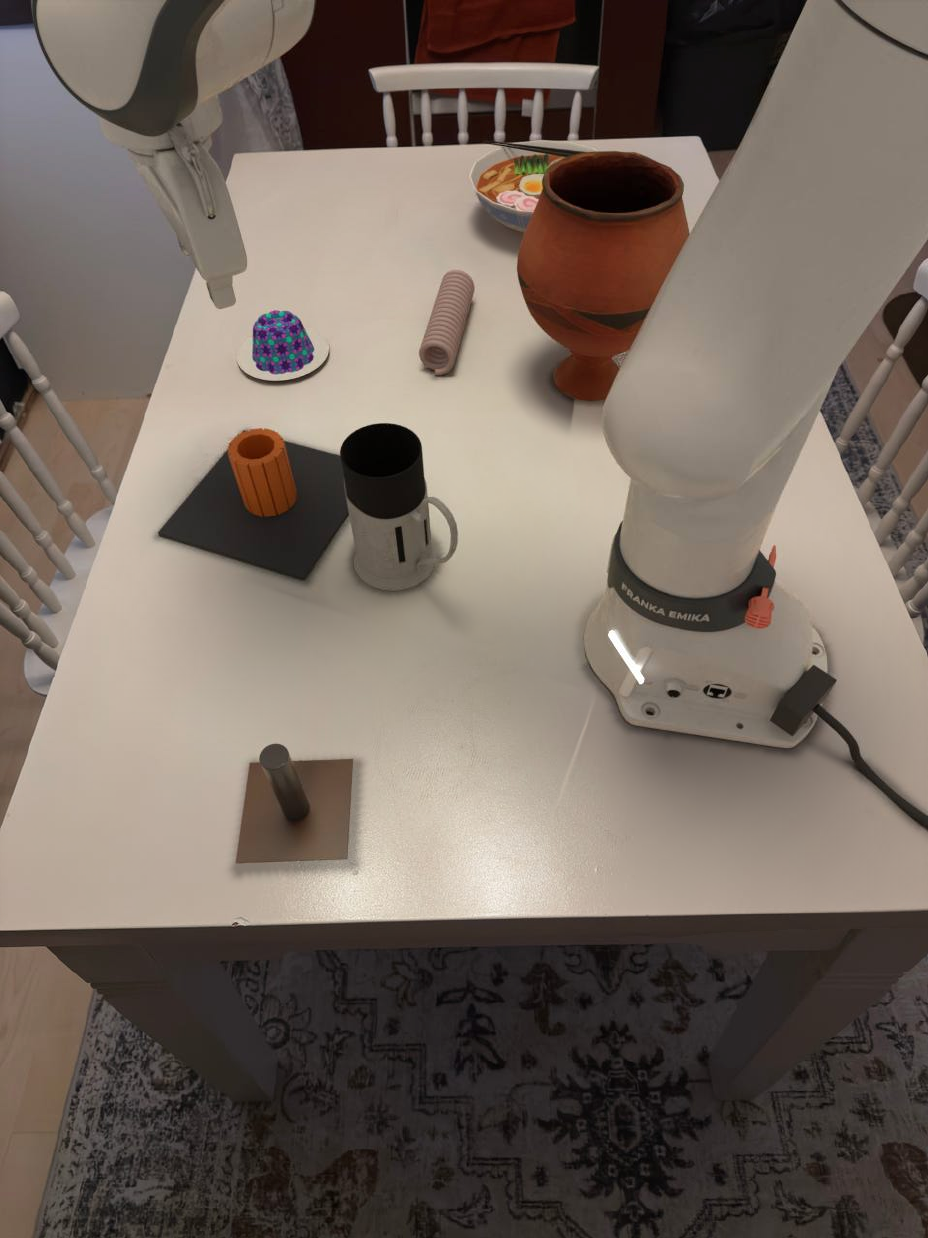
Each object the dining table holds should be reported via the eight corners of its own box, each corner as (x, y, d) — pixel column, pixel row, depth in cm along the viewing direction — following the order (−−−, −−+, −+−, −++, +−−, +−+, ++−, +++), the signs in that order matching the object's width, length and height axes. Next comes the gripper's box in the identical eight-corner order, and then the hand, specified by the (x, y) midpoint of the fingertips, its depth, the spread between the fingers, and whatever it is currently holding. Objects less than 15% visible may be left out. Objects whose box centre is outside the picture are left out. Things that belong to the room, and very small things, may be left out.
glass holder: (399, 516, 92) (386, 405, 80) (490, 587, 85) (490, 479, 73) (337, 558, 88) (313, 449, 76) (426, 636, 82) (415, 530, 70)
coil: (455, 348, 103) (477, 269, 113) (417, 341, 103) (443, 263, 113) (452, 379, 106) (474, 300, 117) (416, 373, 106) (441, 294, 117)
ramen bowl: (439, 244, 126) (436, 189, 119) (495, 176, 138) (495, 123, 132) (598, 276, 119) (605, 220, 113) (641, 202, 132) (649, 148, 126)
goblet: (678, 429, 99) (726, 223, 79) (516, 432, 99) (524, 227, 80) (654, 334, 111) (691, 133, 91) (510, 337, 111) (515, 138, 91)
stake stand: (354, 765, 73) (337, 702, 65) (349, 864, 68) (329, 810, 60) (252, 768, 73) (222, 706, 65) (239, 868, 68) (204, 815, 60)
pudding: (322, 324, 114) (316, 288, 110) (336, 376, 107) (330, 340, 103) (234, 338, 112) (225, 303, 108) (242, 392, 105) (232, 356, 101)
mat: (379, 468, 96) (378, 465, 96) (304, 581, 86) (303, 577, 86) (244, 432, 101) (243, 429, 100) (158, 535, 91) (157, 532, 90)
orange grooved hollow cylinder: (305, 487, 94) (293, 435, 88) (280, 522, 91) (265, 471, 85) (261, 474, 95) (246, 423, 89) (234, 508, 92) (217, 457, 86)
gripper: (243, 145, 56) (283, 327, 67) (163, 46, 67) (209, 216, 78) (150, 167, 54) (207, 350, 65) (84, 61, 65) (142, 233, 76)
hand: (207, 276), depth 72 cm, fingers open, 8 cm apart
